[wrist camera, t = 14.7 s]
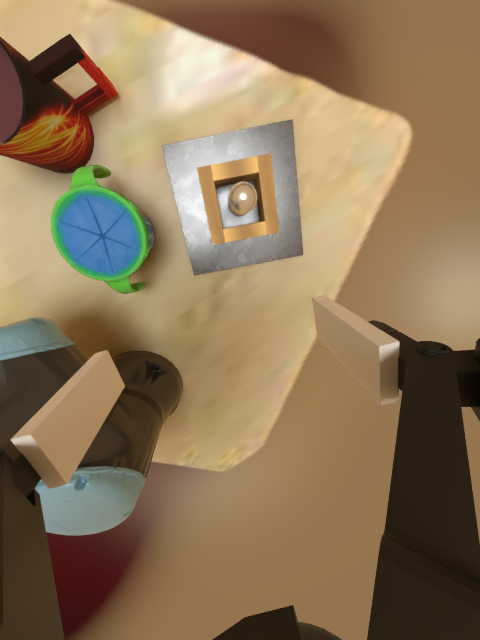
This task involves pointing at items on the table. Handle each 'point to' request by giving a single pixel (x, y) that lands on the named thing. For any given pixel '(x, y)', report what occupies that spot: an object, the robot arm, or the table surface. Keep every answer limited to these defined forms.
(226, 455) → the table surface
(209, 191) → the square wooden frame
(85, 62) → the mug
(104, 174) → the snack cup
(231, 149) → the post stand
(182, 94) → the table surface
